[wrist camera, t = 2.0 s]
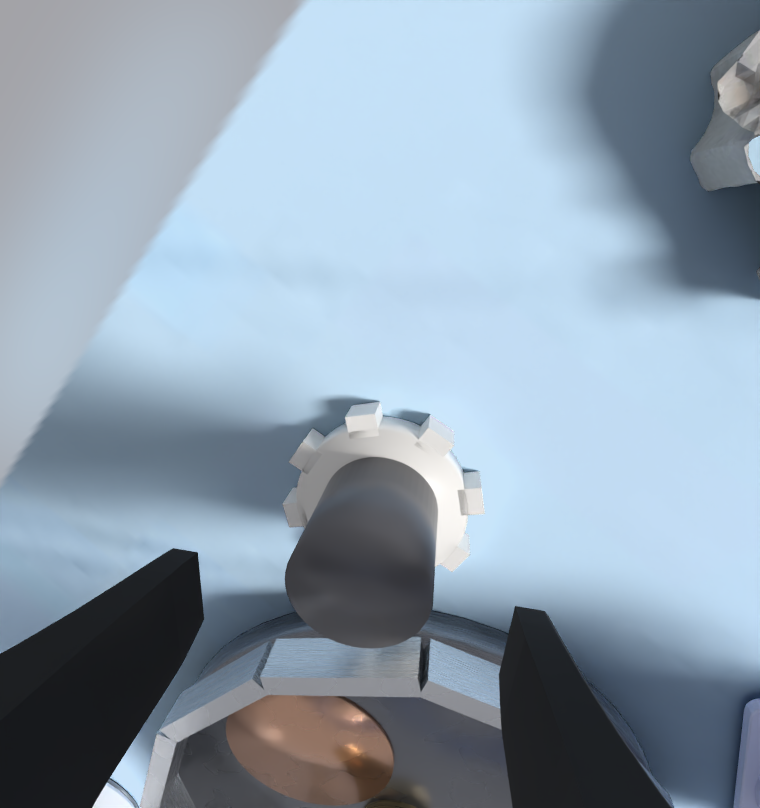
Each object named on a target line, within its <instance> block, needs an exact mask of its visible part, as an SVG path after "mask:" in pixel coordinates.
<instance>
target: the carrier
mask: <svg viewBox="0 0 760 808" xmlns="http://www.w3.org/2000/svg"><path fill="white" fill-rule="evenodd" d="M507 638H508V634H507V633H504V632H502V631H500V630H497V629H494V628H491V627H488V626H485V625H482V624H479V623H476V622H473V621H470V620H467V619H464V618H460V617H456V616H452V615H447V614H443V613H439V612H434V611H431V614H430V616H429V618H428V620H427V622H426V623H425V625H424V626H423V627H422V628H421V630H420V631H419V632H418V633H416V634H415V635H414V636H413V637H411V638H409V639H408V640H406V641H404V642H402V643H399V644H397V645H393V646H390V647H384V648H374V649H369V648H357V647H352V646H347V645H344V644H341V643H338V642H335V641H333V640H331V639H328V638H326V637H325V636H323V635H321V634H319V633H318V632H317V631H315V630H314V629H312V628H311V627H310V626H309V625H308V624H307V623H305V622H304V620H303V619H302V618H301V617H300V616H299V615H298V613H297V612H296V613H291V614H288V615H285V616H282V617H279V618H276V619H273V620H271V621H268V622H265V623H263V624H261V625H259V626H257V627H255V628H253V629H251V630H249V631H247V632H245V633H243V634H241V635H240V636H238V637H237V638H236V639H234V640H233V641H231V642H230V643H229V644H227V645H226V646H225V647H223V648H222V649H221V650H220V651H219V652H218V653H217V654H216V655H215V656H214V657H213V658H212V659H211V660H210V662H209V663H208V664H207V665H206V667H205V668H204V670H203V671H202V673H201V674H200V676H199V678H198V679H197V681H196V682H195V684H194V685H192V686H191V687H189V688H187V689H186V690H184V691H182V693H181V695H179V697H178V699H177V700H176V702H175V704H174V705H173V707H172V709H171V710H170V712H169V714H168V715H167V717H166V719H165V720H164V722H163V724H162V725H161V727H160V729H159V731H158V732H157V734H156V738H155V743H154V747H153V751H152V755H151V760H150V764H149V768H148V773H147V777H146V781H145V786H144V790H143V794H142V799H141V803H140V807H141V808H513V807H512V800H511V793H510V786H509V779H508V772H507V765H506V758H505V751H504V745H503V737H502V730H501V714H500V693H499V671H500V667H501V663H502V659H503V655H504V651H505V646H506V642H507ZM586 682H587V683H588V685H589V687H590V688H591V690H592V692H593V693H594V695H595V696H596V698H597V699H598V701H599V703H600V704H601V706H602V707H603V709H604V710H605V712H606V714H607V715H608V717H609V718H610V720H611V721H612V723H613V724H614V726H615V728H616V729H617V731H618V732H619V734H620V735H621V737H622V738H623V740H624V741H625V743H626V744H627V746H628V747H629V748H630V750H631V751H632V753H633V754H634V756H635V757H636V759H637V760H638V761H639V763H640V764H641V766H642V767H643V769H644V770H645V771H646V773H647V774H648V776H649V777H650V779H651V780H652V781H653V783H654V784H655V786H656V787H657V788H658V790H659V791H660V792H661V794H662V795H663V797H664V798H665V799H666V801H667V802H668V803H669V805H670V806H671V807H672V808H674V805H673V803H672V800H671V798H670V795H669V794H668V793H667V792H666V791H665V789H664V788H663V787H662V786H661V785H660V784H659V783H658V782H657V781H656V779H655V778H654V777H653V776H652V773H651V771H650V768H649V765H648V762H647V760H646V757H645V754H644V752H643V750H642V748H641V746H640V744H639V743H638V741H637V739H636V737H635V735H634V733H633V731H632V729H631V728H630V727H629V725H628V724H627V723H626V722H625V720H624V719H623V718H622V716H621V715H620V714H619V712H618V711H617V710H616V708H615V707H614V706H613V705H612V704H611V703H610V702H609V701H608V700H607V699H606V698H605V697H604V696H603V695H602V694H601V693H600V692H599V691H598V690H597V689H596V688H595V687H594V686H593V685H592V684H590V683H589V682H588V681H586Z"/></svg>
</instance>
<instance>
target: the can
mask: <svg viewBox="0 0 760 808" xmlns="http://www.w3.org/2000/svg"><path fill="white" fill-rule="evenodd" d="M92 808H139V807H138V805H137V804H136V802H135V801H134V799H133V798H132V797H131V796H130V795H129V793H128V792H127V791H125V790H124V789H123V788H122V787H121V786H119V785H118V784H117V783H115V782H114V781H112V780H110V779H109V780H108V782H107V783H106V785H105V787H104V788H103V790H102V792H101V793H100V795H99V797H98V798H97V800H96V802H95V804H94V805H93V807H92Z"/></svg>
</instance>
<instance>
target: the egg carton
mask: <svg viewBox="0 0 760 808" xmlns="http://www.w3.org/2000/svg"><path fill="white" fill-rule="evenodd" d="M710 74H711V84H712V86H713V90H714V111H713V115H712V118H711V121H710V123H709V125H708V127H707V129H706V131H705V133H704V135H703V136H702V137H701V139H700V140H699V142H698V143H697V144H696V146H695V147H694V148H693V149H692V151H691V155H690V162H691V164H692V166H693V169H694V171H695V172H696V174H697V176H698V179H699V183H700V185H701V187H702V188H704V189H705V190H706V191H708V192H709V191H714V190H718V189H722V188H725V187H738V186H742V185H746V184H754V183H759V184H760V176H759V175H758V174H757V173H756V172H755V171H754V169H753V166H752V164H751V161H750V159H749V157H748V150H749V142H750V141H751V140H752V139H753V138H755V137H758V136H760V30H759V31H757V32H756V33H754V34H752V35H751V36H749V37H748V38H747V39H746V40H744V41H743V42H742V43H741V44H739V45H738V46H737V47H735V48H734V49H733V50H732V51H731V52H729V53H728V54H727V55H726V56H725V57H723V58H722V59H721V60H720V61H719V62H718V63H717V64H716V65H715V66H714V67H713V68H712V71H711V73H710ZM757 275H758V278H759V280H760V268H759V269H758V270H757Z"/></svg>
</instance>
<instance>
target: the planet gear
mask: <svg viewBox="0 0 760 808" xmlns="http://www.w3.org/2000/svg"><path fill="white" fill-rule="evenodd" d="M345 420H346V423H345V424H343V425H341V426H339V427H337V428H336V429H334V430H333V431H331V432H330V433H329V434H328V435H327V436H323V435H322V434H321V433H319V432H318V431H316V430H315V429H313V428H312V430H311V431H310V432H309V434H308V435H307V436H306V438H305V439H304V440H303V442H302V443H301V445H300V446H299V448H298V449H297V451H296V452H295V453H294V455H293V456H292V458H291V459H290V461H289V463H291V464H292V465H294V466H295V467H297V468H298V469H300V470H301V471H302V472H301V474H300V477H299V480H298V484H297V487H295V488H292V490H291V491H290V493H289V494H288V496H287V498H286V499H285V501H284V502H283V507H284V511H285V514H286V517H287V521H288V524H289V527H302V526H303V527H304V528H305V530H304V532H303V533H302V535H301V537H300V539H299V541H298V543H297V545H296V547H295V549H294V551H293V553H292V555H291V557H290V559H289V562H288V564H287V568H286V572H285V586H286V591H287V595H288V597H289V600H290V602H291V604H292V606H293V608H294V609H295V611H296V612H297V613H298V615H299V616H300V617H301V618H302V619H303V620H304V622H305V623H307V624H308V625H309V626H310V627H311V628H312V629H314V630H315V631H317V632H318V633H319V634H321V635H323V636H325V637H326V638H328V639H331V640H333V641H335V642H338V643H341V644H344V645H347V646H352V647H357V648H369V649H374V648H384V647H390V646H393V645H397V644H399V643H402V642H404V641H406V640H408V639H409V638H411V637H413V636H414V635H415V634H416V633H418V632H419V631H420V630H421V628H422V627H423V626H424V625H425V623H426V622H427V620H428V618H429V616H430V614H431V610H432V606H433V592H434V574H435V567H436V566H437V565H439V564H441V565H442V566H444V567H445V568H447V569H448V570H450V571H451V572H453V571H454V570H455V569H456V568H457V567H458V566H459V565H460V564H461V563H462V562H463V561H464V560H465V559H466V558H467V557H468V556H469V555H470V544H469V535H468V534H467V533H465V529H466V526H467V521H468V515H477V514H485V513H484V504H483V495H482V487H481V479H480V471H476V472H465V473H464V472H463V470H462V467H461V465H460V463H459V461H458V459H457V457H456V456H455V455H454V453H453V452H452V450H451V448H452V447H453V446H454V431H453V430H452V429H450V428H449V427H448V426H446V425H445V424H443V423H442V422H441V421H439V420H438V419H436V418H435V417H433V416H432V415H431V414H430V415H429V417H428V418H427V419H426V420H425V422H424V423H423V424H422V425H421V426H420V425H417V424H415V423H413V422H410V421H407V420H404V419H399V418H394V417H384V416H383V413H382V408H381V403H380V402H374V403H366V404H358V405H352V406H351V408H350V410H349V411H348V413H347V415H346V416H345Z"/></svg>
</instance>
